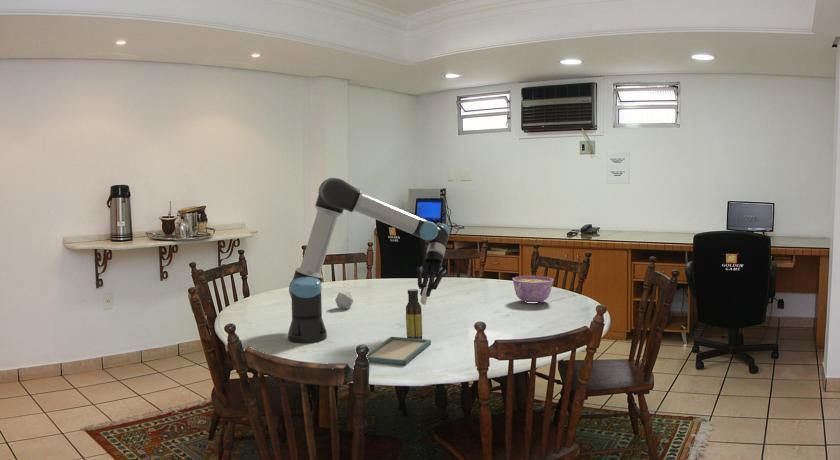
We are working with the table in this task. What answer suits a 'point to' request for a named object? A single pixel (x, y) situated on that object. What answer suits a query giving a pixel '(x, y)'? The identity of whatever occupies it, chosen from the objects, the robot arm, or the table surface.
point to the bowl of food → (532, 288)
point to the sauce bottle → (413, 315)
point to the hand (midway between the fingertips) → (422, 302)
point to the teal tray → (397, 350)
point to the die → (344, 300)
